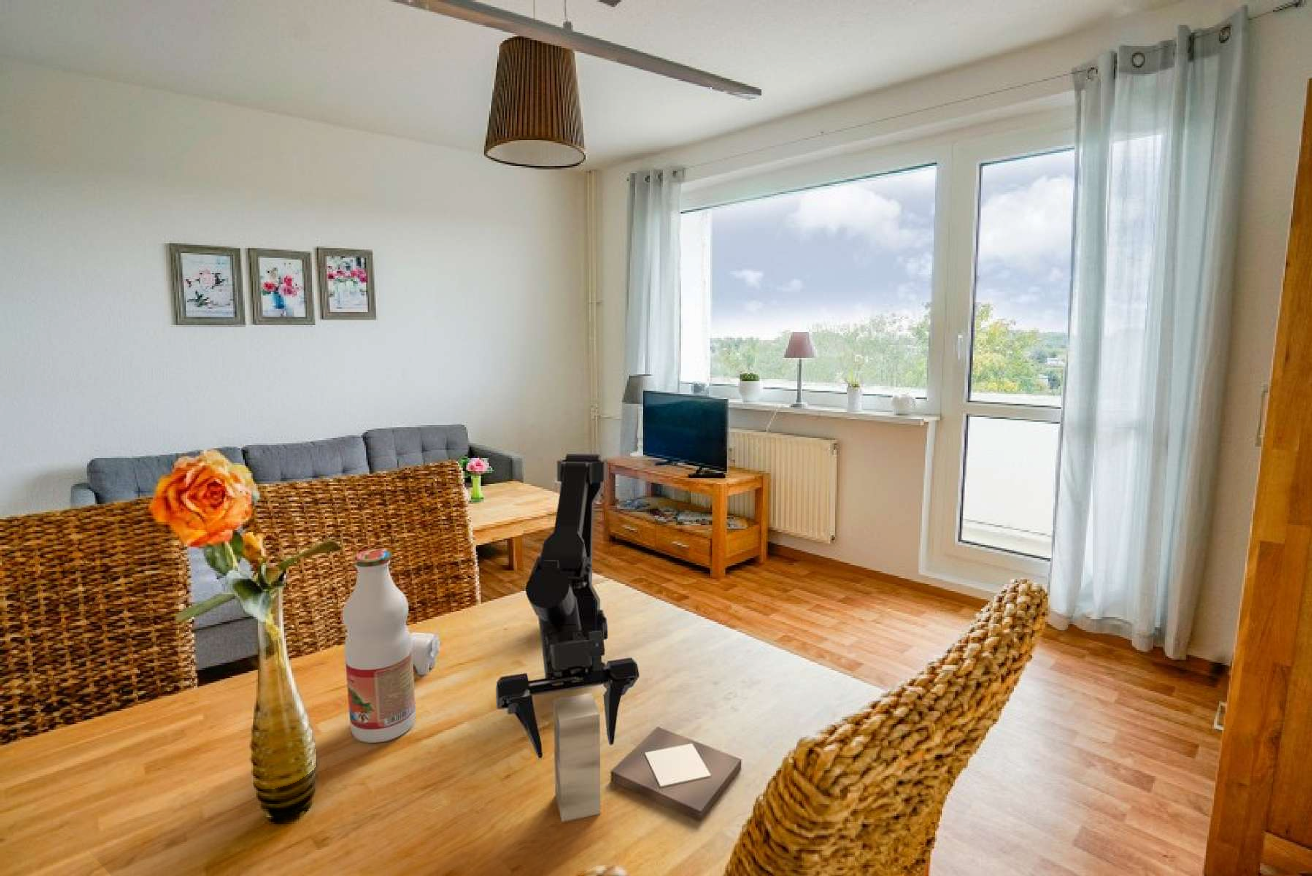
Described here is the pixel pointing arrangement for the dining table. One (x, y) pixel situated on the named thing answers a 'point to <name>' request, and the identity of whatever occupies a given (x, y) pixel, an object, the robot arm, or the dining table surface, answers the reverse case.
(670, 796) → the walnut base board
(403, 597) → the fruit juice
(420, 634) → the elephant figurine
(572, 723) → the birch pillar block
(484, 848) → the dining table surface
